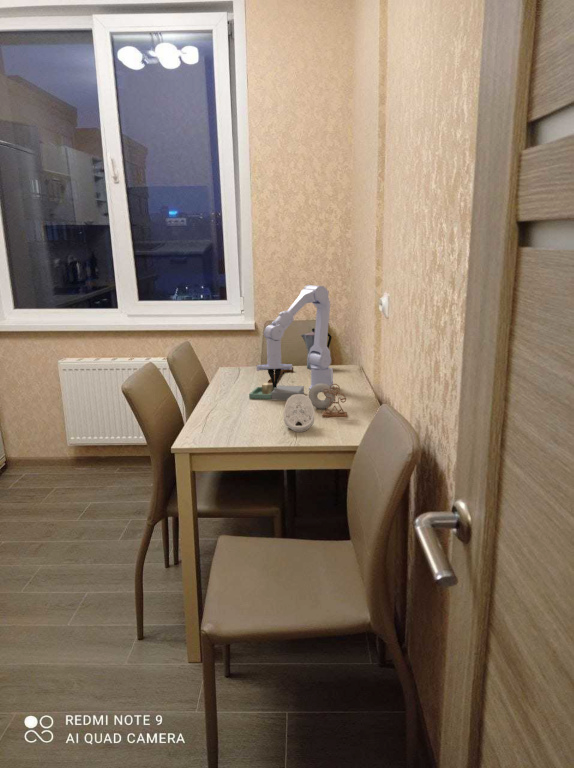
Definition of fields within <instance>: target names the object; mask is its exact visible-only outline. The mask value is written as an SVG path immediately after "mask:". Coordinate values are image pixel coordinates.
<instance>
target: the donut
mask: <svg viewBox="0 0 574 768" xmlns="http://www.w3.org/2000/svg"><path fill="white" fill-rule="evenodd" d="M324 389H328V390H329V392H330V390H331V391H332V390H333V391H334V389H330V386H329V385H327V384H323V383H320V384H316V385H314V386H313V387H312V388H311V389H309V392H308V398H310V400H311V402H312V405H313V407H314V408H316V409H319V410H325V409H326V410H327V408H328V406H329V405H330V398H327V397H331V402H334V396H332V394H329V393H325V395H326V396H327V397H326V396H325V395H324V396H325V398H324V399H323V400H321V399H319V397H318V395H319V394H320V393H323V391H324V392H325V391H326V392H327V391H328V390H324ZM333 391H332V392H333ZM330 393H331V392H330ZM333 394H334V392H333ZM332 405H334V404H333V403H331V405H330V406H329V408H330V407H331V406H332ZM329 408H328V409H329Z"/></svg>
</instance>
